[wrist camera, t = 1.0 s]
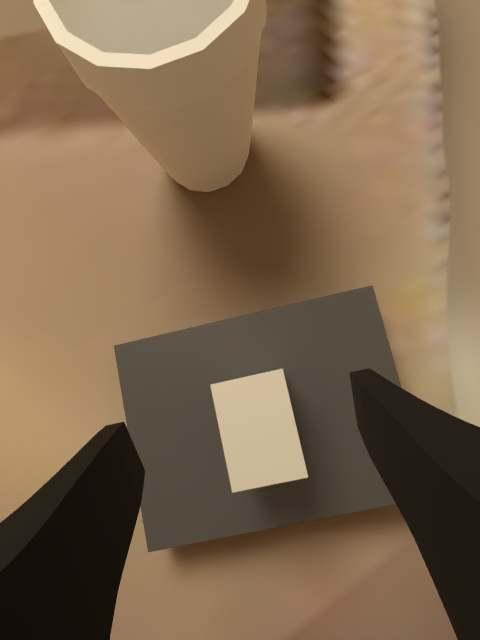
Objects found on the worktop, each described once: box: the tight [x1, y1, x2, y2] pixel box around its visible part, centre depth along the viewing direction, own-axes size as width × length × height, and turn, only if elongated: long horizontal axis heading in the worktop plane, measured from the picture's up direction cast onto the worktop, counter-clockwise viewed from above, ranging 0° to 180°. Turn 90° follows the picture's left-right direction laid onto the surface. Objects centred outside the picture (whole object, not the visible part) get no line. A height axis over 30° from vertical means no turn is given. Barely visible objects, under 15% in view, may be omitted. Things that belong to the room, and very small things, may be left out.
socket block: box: [114, 286, 401, 552], centre depth 23 cm, size 12×16×3 cm
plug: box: [210, 369, 308, 493], centre depth 21 cm, size 5×3×8 cm
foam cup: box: [34, 0, 266, 192], centre depth 21 cm, size 10×9×13 cm
